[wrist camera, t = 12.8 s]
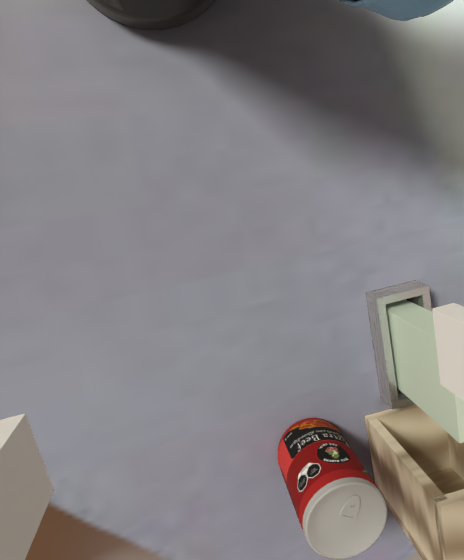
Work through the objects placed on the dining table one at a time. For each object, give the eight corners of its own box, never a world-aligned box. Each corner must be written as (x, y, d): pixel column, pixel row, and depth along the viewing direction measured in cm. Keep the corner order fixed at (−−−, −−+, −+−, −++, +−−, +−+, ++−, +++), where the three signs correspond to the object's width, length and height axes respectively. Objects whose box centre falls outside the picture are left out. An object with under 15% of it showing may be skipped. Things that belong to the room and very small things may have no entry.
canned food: (344, 414, 47) (393, 480, 36) (337, 477, 48) (382, 557, 38) (278, 416, 46) (308, 484, 35) (273, 479, 47) (301, 563, 37)
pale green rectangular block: (378, 305, 44) (449, 345, 33) (411, 297, 45) (493, 333, 33) (389, 380, 46) (459, 443, 35) (420, 372, 47) (501, 431, 35)
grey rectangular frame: (365, 292, 44) (376, 298, 41) (414, 280, 44) (429, 285, 42) (380, 397, 47) (392, 409, 44) (427, 385, 47) (441, 396, 45)
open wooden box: (364, 416, 47) (440, 506, 33) (446, 393, 48) (553, 473, 34) (376, 489, 49) (451, 602, 36) (454, 466, 50) (557, 569, 36)
